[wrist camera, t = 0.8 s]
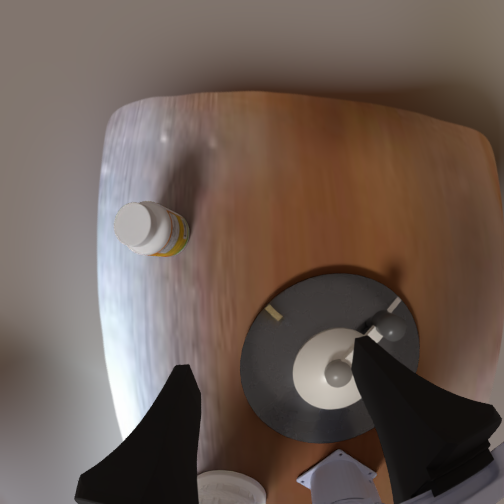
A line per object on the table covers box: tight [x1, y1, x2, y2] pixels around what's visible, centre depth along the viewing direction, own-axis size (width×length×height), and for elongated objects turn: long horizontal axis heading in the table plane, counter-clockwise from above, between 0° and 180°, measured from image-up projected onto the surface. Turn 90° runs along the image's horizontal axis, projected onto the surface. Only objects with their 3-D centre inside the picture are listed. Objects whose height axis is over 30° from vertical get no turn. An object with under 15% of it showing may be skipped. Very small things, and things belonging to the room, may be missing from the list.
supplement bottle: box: [114, 201, 189, 257], centre depth 29 cm, size 5×5×10 cm
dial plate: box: [240, 273, 420, 443], centre depth 31 cm, size 22×22×1 cm
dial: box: [293, 310, 407, 409], centre depth 28 cm, size 14×10×5 cm
